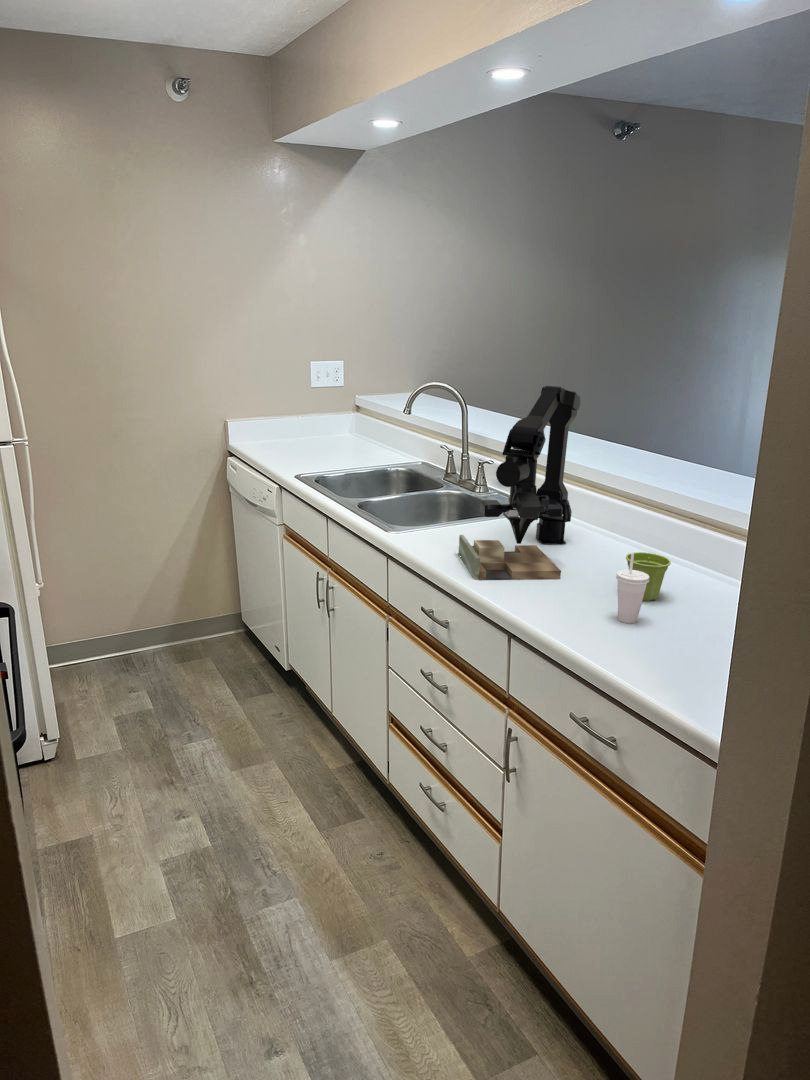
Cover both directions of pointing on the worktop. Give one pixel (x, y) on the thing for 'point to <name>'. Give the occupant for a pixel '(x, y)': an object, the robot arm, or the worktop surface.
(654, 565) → the plant pot
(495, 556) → the birch block
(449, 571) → the worktop surface
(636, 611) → the smoothie
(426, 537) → the worktop surface
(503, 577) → the board
